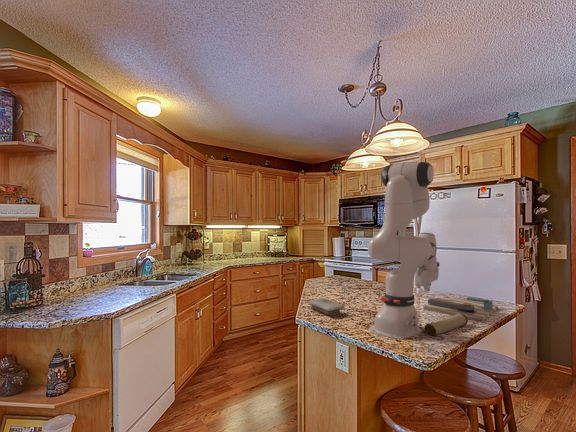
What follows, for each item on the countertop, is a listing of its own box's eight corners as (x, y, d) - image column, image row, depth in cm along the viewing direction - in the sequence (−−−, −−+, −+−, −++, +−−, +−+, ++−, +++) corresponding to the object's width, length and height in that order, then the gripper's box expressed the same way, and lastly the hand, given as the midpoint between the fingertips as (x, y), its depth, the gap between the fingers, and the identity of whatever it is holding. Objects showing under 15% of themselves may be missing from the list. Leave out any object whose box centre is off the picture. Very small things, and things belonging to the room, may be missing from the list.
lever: (475, 309, 148) (475, 303, 148) (472, 312, 144) (472, 305, 144) (431, 301, 163) (431, 295, 163) (427, 303, 159) (427, 297, 159)
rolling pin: (430, 341, 116) (430, 328, 116) (417, 336, 121) (417, 323, 121) (473, 325, 134) (473, 313, 134) (460, 321, 138) (460, 310, 138)
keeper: (490, 310, 148) (490, 301, 148) (466, 306, 156) (466, 297, 156) (492, 309, 150) (492, 300, 150) (468, 305, 158) (468, 296, 158)
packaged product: (323, 306, 163) (307, 309, 158) (323, 297, 163) (307, 300, 158) (345, 315, 147) (328, 318, 142) (345, 305, 147) (328, 308, 142)
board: (482, 321, 138) (482, 317, 138) (423, 309, 156) (423, 306, 156) (497, 308, 158) (497, 305, 158) (444, 299, 176) (444, 296, 176)
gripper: (424, 268, 145) (424, 296, 145) (440, 262, 159) (441, 288, 159) (411, 266, 149) (411, 294, 150) (428, 261, 164) (428, 286, 164)
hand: (427, 291), depth 155 cm, fingers closed
